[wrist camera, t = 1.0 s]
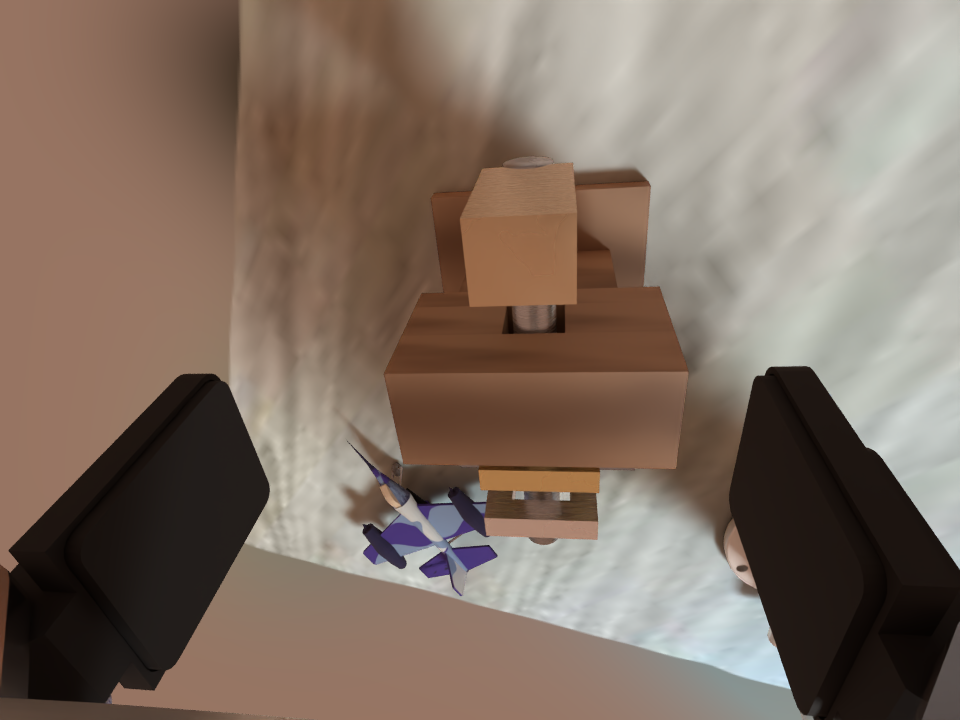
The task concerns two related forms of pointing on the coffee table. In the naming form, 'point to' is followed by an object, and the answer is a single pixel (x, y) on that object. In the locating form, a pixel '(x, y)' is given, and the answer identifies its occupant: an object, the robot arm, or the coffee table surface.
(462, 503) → the toy airplane
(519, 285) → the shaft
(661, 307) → the bearing block
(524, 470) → the bar
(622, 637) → the coffee table surface
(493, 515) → the square wooden ring
